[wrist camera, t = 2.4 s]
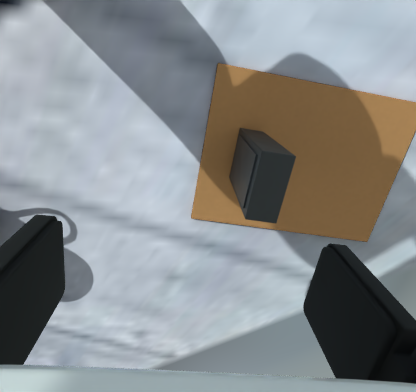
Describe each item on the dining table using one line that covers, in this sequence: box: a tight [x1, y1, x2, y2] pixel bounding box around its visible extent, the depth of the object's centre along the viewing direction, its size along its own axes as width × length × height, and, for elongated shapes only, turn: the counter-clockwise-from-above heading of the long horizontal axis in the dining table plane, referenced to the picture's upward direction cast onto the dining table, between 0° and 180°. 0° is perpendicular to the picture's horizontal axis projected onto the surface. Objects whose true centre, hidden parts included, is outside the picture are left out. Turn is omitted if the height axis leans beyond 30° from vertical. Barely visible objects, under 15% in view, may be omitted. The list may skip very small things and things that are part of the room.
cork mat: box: [191, 63, 416, 242], centre depth 35 cm, size 24×18×1 cm
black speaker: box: [229, 128, 296, 224], centre depth 29 cm, size 3×6×11 cm, turn 170°
